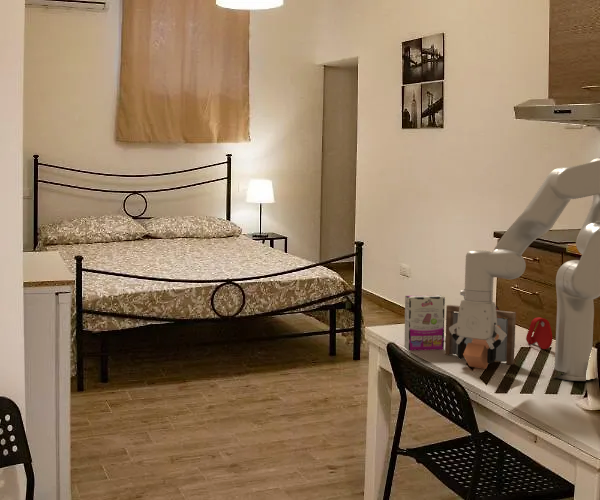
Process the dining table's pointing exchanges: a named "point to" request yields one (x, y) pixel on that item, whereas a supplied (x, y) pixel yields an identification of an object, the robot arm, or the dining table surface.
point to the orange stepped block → (477, 353)
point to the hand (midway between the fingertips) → (476, 360)
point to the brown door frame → (510, 315)
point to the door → (500, 350)
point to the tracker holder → (540, 333)
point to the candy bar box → (424, 322)
